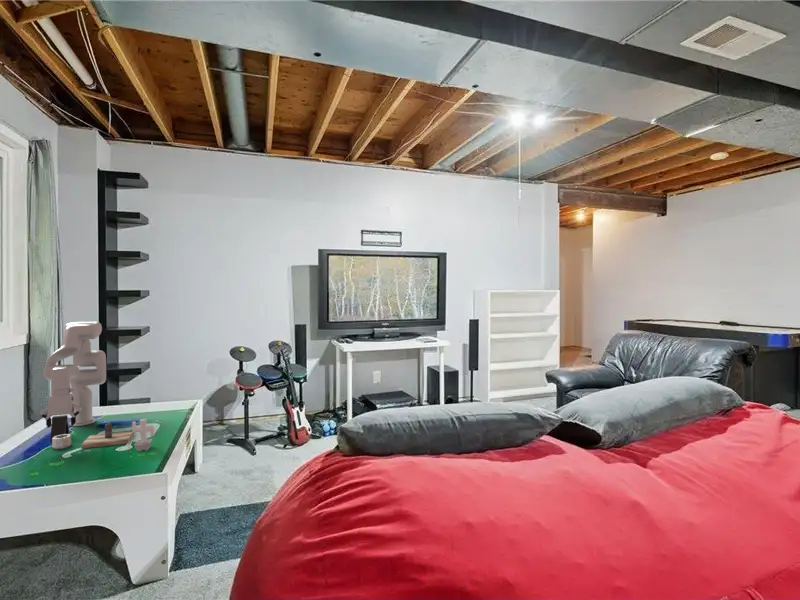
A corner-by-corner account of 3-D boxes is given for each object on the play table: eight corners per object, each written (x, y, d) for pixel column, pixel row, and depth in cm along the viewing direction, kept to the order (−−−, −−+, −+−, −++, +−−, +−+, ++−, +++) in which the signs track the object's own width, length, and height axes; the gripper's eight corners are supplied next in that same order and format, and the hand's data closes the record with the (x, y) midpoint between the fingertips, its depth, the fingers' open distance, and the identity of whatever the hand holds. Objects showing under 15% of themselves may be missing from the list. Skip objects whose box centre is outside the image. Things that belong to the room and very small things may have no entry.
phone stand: (63, 440, 225) (63, 417, 225) (49, 441, 223) (49, 419, 222) (70, 434, 233) (69, 413, 233) (56, 436, 231) (56, 414, 231)
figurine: (154, 450, 212) (153, 420, 212) (131, 453, 208) (131, 422, 208) (154, 445, 219) (154, 416, 218) (133, 448, 215) (132, 418, 214)
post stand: (89, 439, 227) (89, 422, 227) (133, 434, 234) (133, 418, 234) (81, 448, 214) (81, 430, 214) (127, 443, 221) (127, 426, 221)
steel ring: (56, 444, 219) (55, 435, 219) (72, 442, 221) (72, 433, 221) (50, 449, 212) (50, 439, 212) (68, 447, 215) (67, 437, 215)
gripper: (83, 389, 223) (84, 421, 223) (42, 391, 216) (43, 425, 216) (79, 391, 216) (79, 426, 216) (36, 395, 209) (36, 430, 209)
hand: (61, 425), depth 216 cm, fingers open, 9 cm apart
